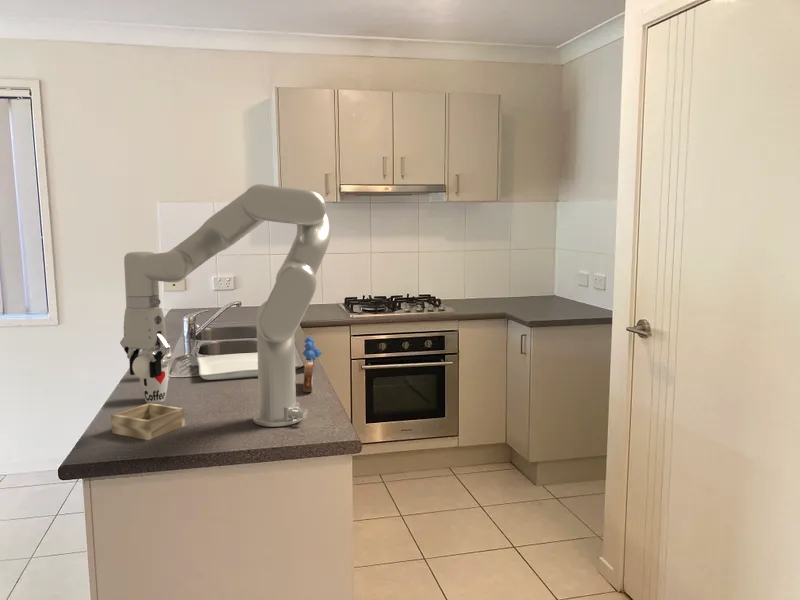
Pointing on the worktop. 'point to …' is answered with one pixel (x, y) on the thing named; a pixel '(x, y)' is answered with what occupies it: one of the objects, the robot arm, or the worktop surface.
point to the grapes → (311, 350)
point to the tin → (308, 376)
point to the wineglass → (166, 356)
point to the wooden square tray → (148, 421)
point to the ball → (142, 366)
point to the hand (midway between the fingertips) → (145, 374)
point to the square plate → (228, 366)
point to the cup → (155, 386)
